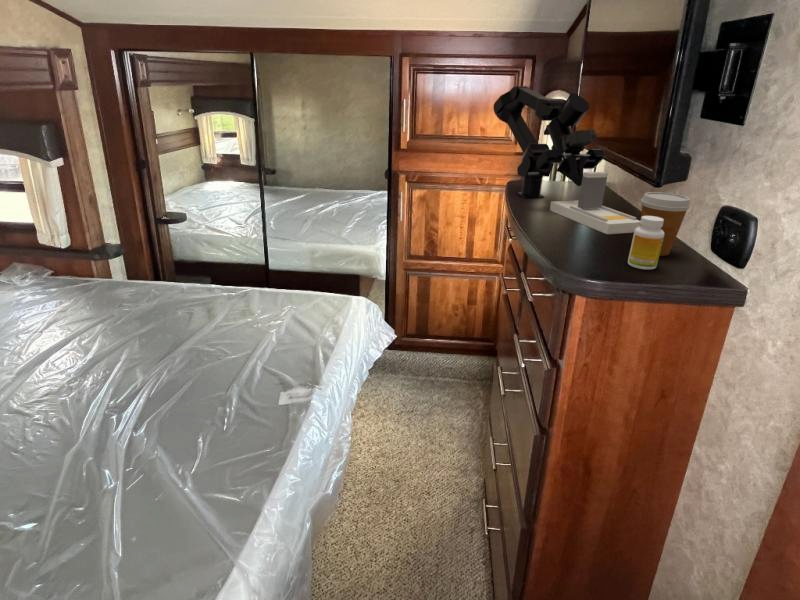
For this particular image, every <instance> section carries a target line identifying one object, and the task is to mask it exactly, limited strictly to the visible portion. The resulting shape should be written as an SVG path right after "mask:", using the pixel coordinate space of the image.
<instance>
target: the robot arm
mask: <svg viewBox="0 0 800 600" xmlns="http://www.w3.org/2000/svg"><path fill="white" fill-rule="evenodd" d="M525 107H528V108H530V109H532V110H533V111H534V115H535V116H536V117H537V118H538V119H539V120H540V121H542V122H543V121H544V122H549V121H550V122H549V123H548V124H546V125H545V129H544V130H543V135H544V136H549V137H550V139H551V142H552V146H551V147H549V145H548V144H547V143H538V141H537V139H536V138H535V136H534V134H533V132H532V131H531V129H530V128H529V126H528V124H527V123H526V121H525V119H524V118H523V116H522V114H523V113H522V112H523V109H525ZM492 109H493V112H494V115H495V116H496V117H497V119H499V121H501V122H503V123H505V124H507V125H508V127H509V129H510V131H511V133H512V135H513V137H514V138H515V140H516V142H517V144H518V146H519V147H520V149H521V152H523V155H522V159H521V162H520V164H519V165H518V167H517V168H516V169H517V175H518V176H520V177H523V178H522V187H521V191H517V194H518V195H520V196H521V197H522V198H529V199H530V198H540V199H541V198H545V195H543V194H541V191H542V185H543V178H544V177H547V178H548V177H550V176H551V172H552V170H553V167H554V165H555V164H558V165H557V166H558V167H557V168H556V172H558V173H560V174H562V175H563V176H565V177H566V178H567V179H569V180H570V181H571V182H573V183H574V184H575V185H576V186H577V187H581V184H582V178H583V173H584V170H587V169H589V170H591V169H592V170H593V169H595V168H596V167H597V166H598V165H599V164H600V163H601V162H602V161H603V160H604V159H605V158H606V153H605V151H604V149H601V148H590V149H589V150H587V151H586V153H581V152H583V151H584V150H585V147H586V146H587V145H589V144H592V143H593V142H595V141H597V132H596V131H595V129H594V128H589V129H582V130H580V129H579V130H575V131H572V128H571V127H575V126H577V125H578V124H579V123H580V121H581V120H582V118H584V116H585V115H586V113H587V112H588V111H589V109H590V104H589V101H587V100H586V99H585V98H583V97H582V96H580V95H579V93H578V92H571V93H570V94H569V95H568V97H567V99H566V100H564V99H561V98H552V97H551V98H550V97H546V96H544V95H542V94H541V93H538V92H536V91H535V90H533V89H531V88H530V87H529V86H526V85H515V86H513V87H512V88H511V89H509V90H508V91H507V92H505V93H503V94H502V95H500V96H499V97H498V98H497V99H496V100H495V102H494V103H493V107H492Z"/></svg>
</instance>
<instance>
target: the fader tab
mask: <svg viewBox="0 0 800 600" xmlns="http://www.w3.org/2000/svg"><path fill="white" fill-rule="evenodd" d="M608 174H609V173H608V172H605V171H590V172H589V171H583V178H582V184H581V186H580V192H579V196H578V197H579V198H578V200H579V201H578V207H579V208H581V209H588V208H601V207H602V206H603V201H604V197H605V191H606V185H607V180H608Z"/></svg>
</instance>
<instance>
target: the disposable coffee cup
mask: <svg viewBox="0 0 800 600" xmlns="http://www.w3.org/2000/svg"><path fill="white" fill-rule="evenodd" d="M640 202H641V203H640V204H641V213H640V214H641V215H640V218H641V217H642V216H655V217H660V218H662V219H664V222H663V226H662V227H661V230H663V231H664V239H663V243H662V247H661V251H660V255H659V257H660V256H661V257H662V256H668V255H670V253H671V250H672V249H673V246H674V243H675V241H676V239H677V235H678V233H679V231H680V228H681V225H682V223H683V222H684V219H685V217H686V216H685V215H686V213H687V211H688V210H689V209H690V208H691V206H692V205H691V204H690V197H688V196H685V195H681V194H676V193H670V192H662V191H661V192H660V191H659V192H658V191H655V192H654V191H651V192H650V191H649V192H645V193H644V195H643V197H642V198H640ZM640 226H641V224H640Z"/></svg>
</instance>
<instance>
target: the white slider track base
mask: <svg viewBox="0 0 800 600" xmlns="http://www.w3.org/2000/svg"><path fill="white" fill-rule="evenodd" d="M578 201H579V199H576V200H556V201H551V202H550V205H549V206H550V207H549V211H551V212H553V213H555V214H558V215H560V216H562V217H565V218H567V219H569V220H572V221H574V222H576V223H579V224H582V225H584V226H586V227H589V228H591V229H594V230H595V231H598V232H600V233H603V234H606V235H617V234H628V233H629V234H634V231H635V229H636V228H637V227H640V221H641V220H639V219H637V217H636V216H633V215H630V214H627V213H624V212H622V211H620V210H619V211H618V210H616V209H613V208H611V207H608V206H605V205H602V207H601V208H588V209H581V208H579V207H578Z"/></svg>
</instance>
